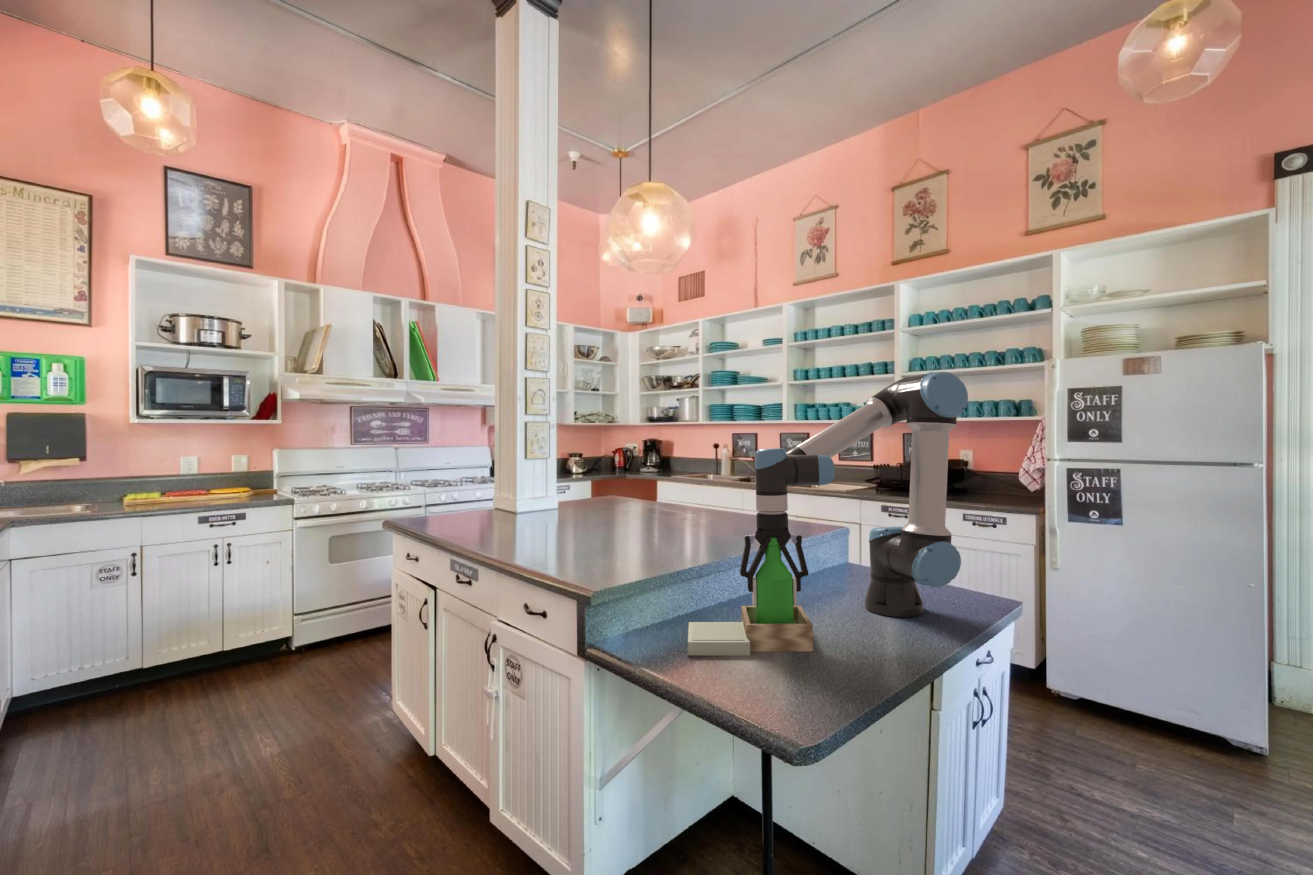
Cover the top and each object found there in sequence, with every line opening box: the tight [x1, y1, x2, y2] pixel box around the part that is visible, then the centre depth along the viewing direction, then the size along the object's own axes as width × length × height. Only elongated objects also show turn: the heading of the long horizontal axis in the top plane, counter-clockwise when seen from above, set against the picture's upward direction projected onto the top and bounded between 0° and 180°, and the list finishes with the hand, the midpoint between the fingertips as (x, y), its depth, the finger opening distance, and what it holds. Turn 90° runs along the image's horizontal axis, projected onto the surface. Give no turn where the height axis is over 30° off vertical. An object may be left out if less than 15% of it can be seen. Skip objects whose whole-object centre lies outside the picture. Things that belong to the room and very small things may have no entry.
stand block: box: [687, 621, 751, 657], centre depth 133 cm, size 14×14×3 cm
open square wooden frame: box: [740, 605, 814, 652], centre depth 135 cm, size 15×15×6 cm
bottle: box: [754, 537, 794, 624], centre depth 135 cm, size 9×9×25 cm
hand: (774, 604), depth 135 cm, fingers closed on bottle, 9 cm apart
